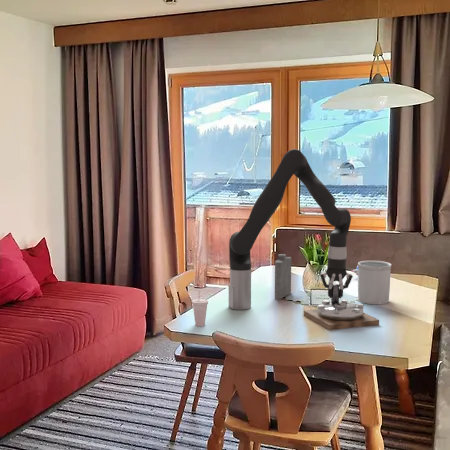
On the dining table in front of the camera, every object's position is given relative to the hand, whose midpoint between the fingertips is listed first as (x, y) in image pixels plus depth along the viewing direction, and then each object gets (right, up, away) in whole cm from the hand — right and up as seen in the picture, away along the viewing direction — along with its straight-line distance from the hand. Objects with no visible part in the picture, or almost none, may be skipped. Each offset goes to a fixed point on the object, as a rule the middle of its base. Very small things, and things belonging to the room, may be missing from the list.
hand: (335, 297), depth 240 cm
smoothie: (-56, -9, -13) cm, 58 cm away
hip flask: (-19, -4, +35) cm, 40 cm away
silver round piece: (+1, -6, -6) cm, 9 cm away
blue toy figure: (+28, +1, +74) cm, 79 cm away
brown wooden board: (+1, -8, -6) cm, 10 cm away
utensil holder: (+22, -5, +25) cm, 34 cm away
